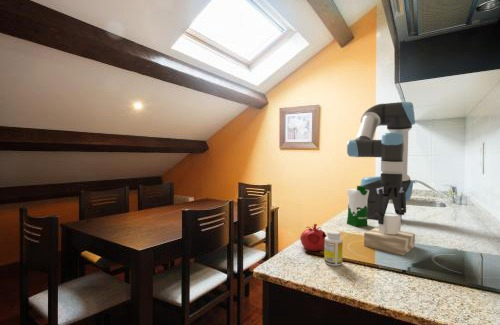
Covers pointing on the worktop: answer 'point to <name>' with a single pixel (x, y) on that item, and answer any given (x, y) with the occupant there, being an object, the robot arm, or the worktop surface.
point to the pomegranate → (313, 239)
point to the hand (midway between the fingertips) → (389, 231)
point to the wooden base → (389, 241)
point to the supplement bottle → (333, 248)
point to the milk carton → (357, 206)
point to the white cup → (392, 223)
